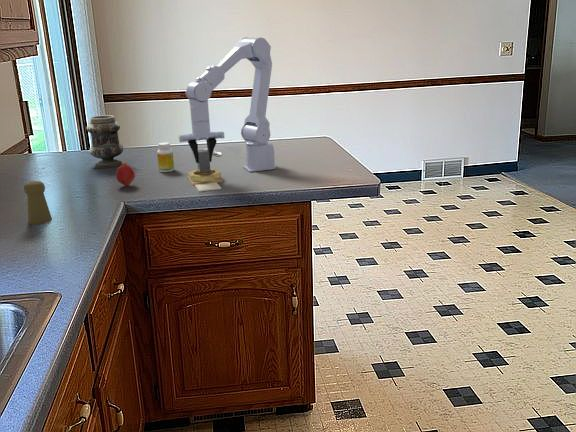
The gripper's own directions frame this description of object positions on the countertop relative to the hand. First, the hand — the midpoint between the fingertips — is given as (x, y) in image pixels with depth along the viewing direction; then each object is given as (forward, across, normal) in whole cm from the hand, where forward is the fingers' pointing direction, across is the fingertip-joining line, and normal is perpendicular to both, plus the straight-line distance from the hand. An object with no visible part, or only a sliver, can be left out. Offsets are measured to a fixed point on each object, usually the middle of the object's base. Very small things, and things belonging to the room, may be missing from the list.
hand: (203, 161), depth 195 cm
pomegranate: (+6, +25, -4) cm, 26 cm away
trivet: (+6, +1, +10) cm, 11 cm away
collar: (+6, 0, 0) cm, 6 cm away
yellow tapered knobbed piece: (+6, +50, +22) cm, 55 cm away
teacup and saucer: (+7, -12, -39) cm, 42 cm away
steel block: (+3, 0, 0) cm, 3 cm away
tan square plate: (+6, 0, 0) cm, 6 cm away
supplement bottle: (+6, +10, -19) cm, 22 cm away
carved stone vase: (+6, +29, -38) cm, 48 cm away
